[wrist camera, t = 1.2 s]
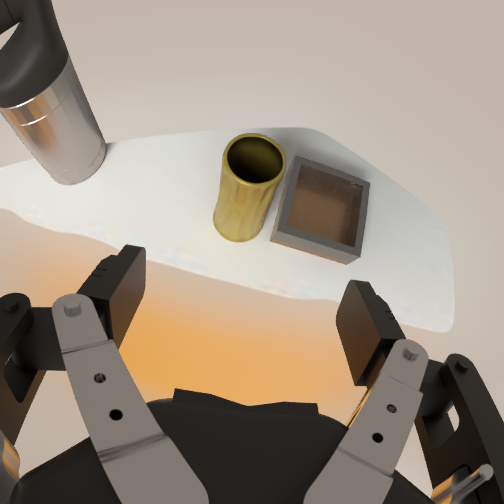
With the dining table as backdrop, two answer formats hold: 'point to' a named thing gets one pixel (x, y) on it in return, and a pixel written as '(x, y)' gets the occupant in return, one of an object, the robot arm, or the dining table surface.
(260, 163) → the vase
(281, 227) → the square grey tray
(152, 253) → the dining table surface
